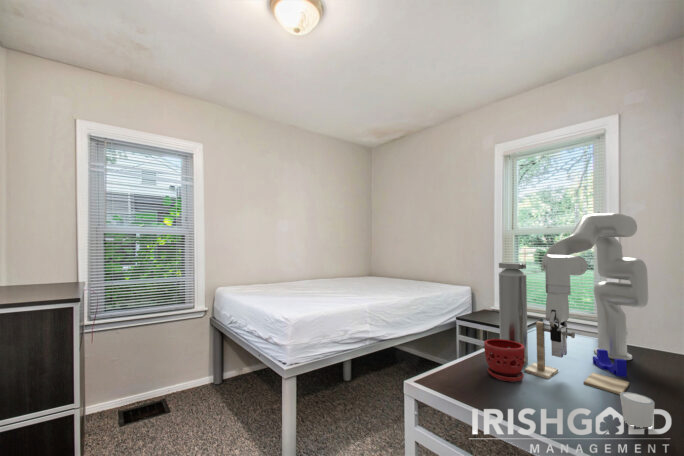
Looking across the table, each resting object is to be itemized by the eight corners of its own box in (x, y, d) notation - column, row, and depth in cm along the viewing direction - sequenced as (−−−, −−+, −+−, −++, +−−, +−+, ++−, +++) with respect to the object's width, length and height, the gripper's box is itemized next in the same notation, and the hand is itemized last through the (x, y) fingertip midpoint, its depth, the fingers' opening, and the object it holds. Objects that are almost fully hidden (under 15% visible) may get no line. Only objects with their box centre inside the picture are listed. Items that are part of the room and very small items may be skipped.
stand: (534, 365, 124) (533, 318, 125) (579, 377, 113) (578, 325, 114) (524, 371, 118) (523, 322, 119) (570, 385, 107) (569, 330, 108)
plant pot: (529, 376, 114) (528, 342, 115) (519, 388, 105) (518, 351, 105) (491, 366, 123) (491, 335, 124) (479, 376, 114) (478, 343, 114)
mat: (592, 374, 116) (592, 372, 116) (629, 384, 108) (629, 382, 108) (583, 384, 108) (583, 381, 108) (622, 395, 100) (621, 392, 100)
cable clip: (592, 363, 127) (592, 348, 127) (605, 364, 126) (605, 349, 126) (612, 376, 115) (612, 359, 115) (626, 377, 114) (626, 360, 114)
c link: (557, 351, 117) (556, 324, 117) (566, 354, 115) (566, 326, 115) (551, 355, 113) (551, 327, 114) (561, 357, 111) (560, 329, 111)
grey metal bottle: (527, 368, 122) (525, 264, 123) (498, 362, 127) (497, 263, 129) (528, 359, 130) (526, 263, 132) (501, 354, 136) (499, 262, 137)
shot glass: (613, 417, 87) (613, 392, 88) (636, 416, 88) (635, 391, 88) (639, 432, 81) (638, 404, 81) (663, 431, 81) (662, 403, 82)
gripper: (554, 286, 123) (555, 332, 122) (537, 290, 112) (538, 341, 112) (577, 288, 117) (578, 337, 117) (562, 293, 106) (563, 347, 106)
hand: (559, 339), depth 114 cm, fingers closed on c link, 6 cm apart
